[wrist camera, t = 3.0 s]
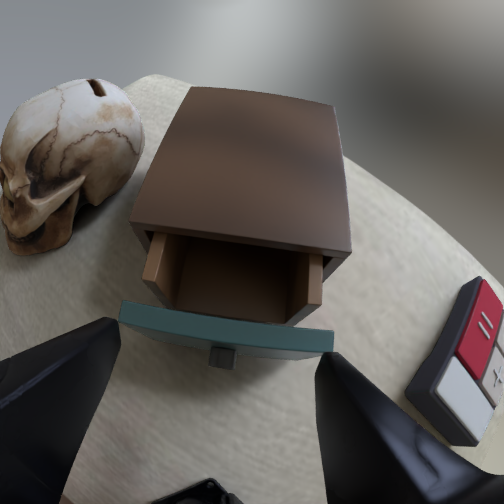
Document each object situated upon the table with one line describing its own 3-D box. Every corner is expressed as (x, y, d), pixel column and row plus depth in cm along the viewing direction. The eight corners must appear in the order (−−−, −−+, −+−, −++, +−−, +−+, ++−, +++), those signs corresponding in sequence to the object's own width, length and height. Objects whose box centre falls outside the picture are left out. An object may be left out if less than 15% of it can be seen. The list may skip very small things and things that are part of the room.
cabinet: (307, 299, 22) (352, 253, 14) (161, 278, 22) (127, 221, 14) (309, 173, 28) (334, 106, 20) (196, 157, 28) (191, 86, 19)
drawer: (296, 376, 19) (331, 376, 12) (150, 354, 18) (112, 344, 12) (305, 217, 24) (330, 162, 18) (186, 200, 24) (175, 141, 18)
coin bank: (-1, 243, 21) (-59, 165, 9) (76, 144, 30) (55, 62, 18) (88, 297, 21) (7, 199, 9) (169, 165, 30) (164, 59, 18)
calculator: (523, 332, 18) (481, 448, 12) (499, 342, 22) (452, 447, 16) (483, 270, 21) (434, 391, 15) (459, 285, 25) (402, 394, 19)
